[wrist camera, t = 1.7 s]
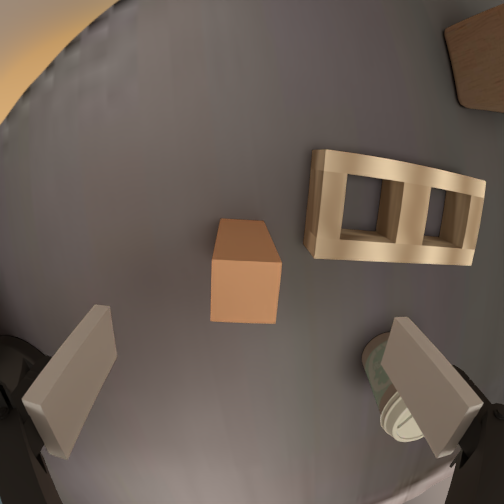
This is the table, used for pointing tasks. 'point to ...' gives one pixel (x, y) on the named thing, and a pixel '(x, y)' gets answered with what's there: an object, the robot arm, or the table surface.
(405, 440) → the coffee cup
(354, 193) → the table surface
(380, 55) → the table surface
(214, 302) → the peg
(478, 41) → the block
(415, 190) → the socket block
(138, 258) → the table surface
